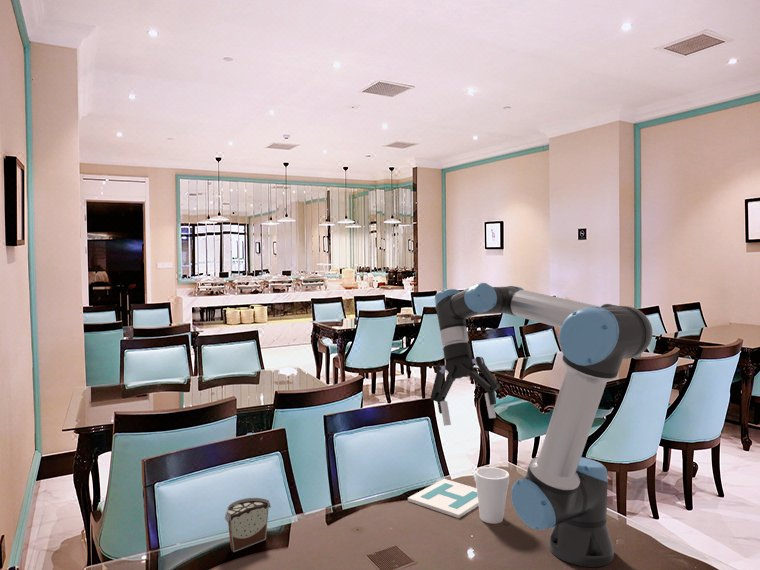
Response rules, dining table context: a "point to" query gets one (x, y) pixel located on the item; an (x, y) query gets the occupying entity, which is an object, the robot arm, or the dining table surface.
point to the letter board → (447, 498)
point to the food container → (247, 522)
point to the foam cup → (491, 493)
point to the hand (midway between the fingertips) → (469, 421)
